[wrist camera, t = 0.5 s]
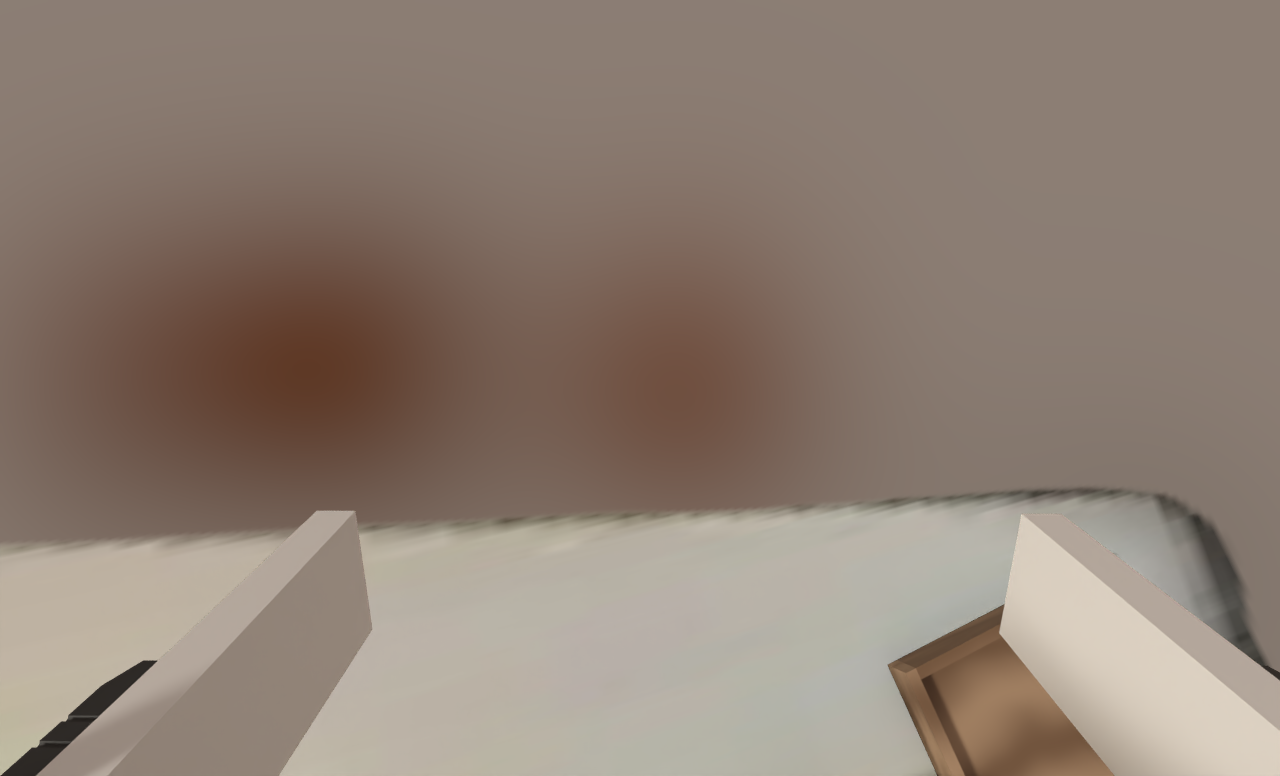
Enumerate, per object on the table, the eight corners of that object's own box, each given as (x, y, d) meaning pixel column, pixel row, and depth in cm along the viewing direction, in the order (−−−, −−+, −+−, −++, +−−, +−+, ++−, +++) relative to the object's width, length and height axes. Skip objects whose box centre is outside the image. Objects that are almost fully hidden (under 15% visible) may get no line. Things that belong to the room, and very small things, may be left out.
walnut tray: (1220, 825, 46) (1256, 843, 43) (1018, 955, 42) (1046, 982, 40) (1085, 562, 49) (1113, 564, 46) (887, 664, 45) (905, 673, 43)
